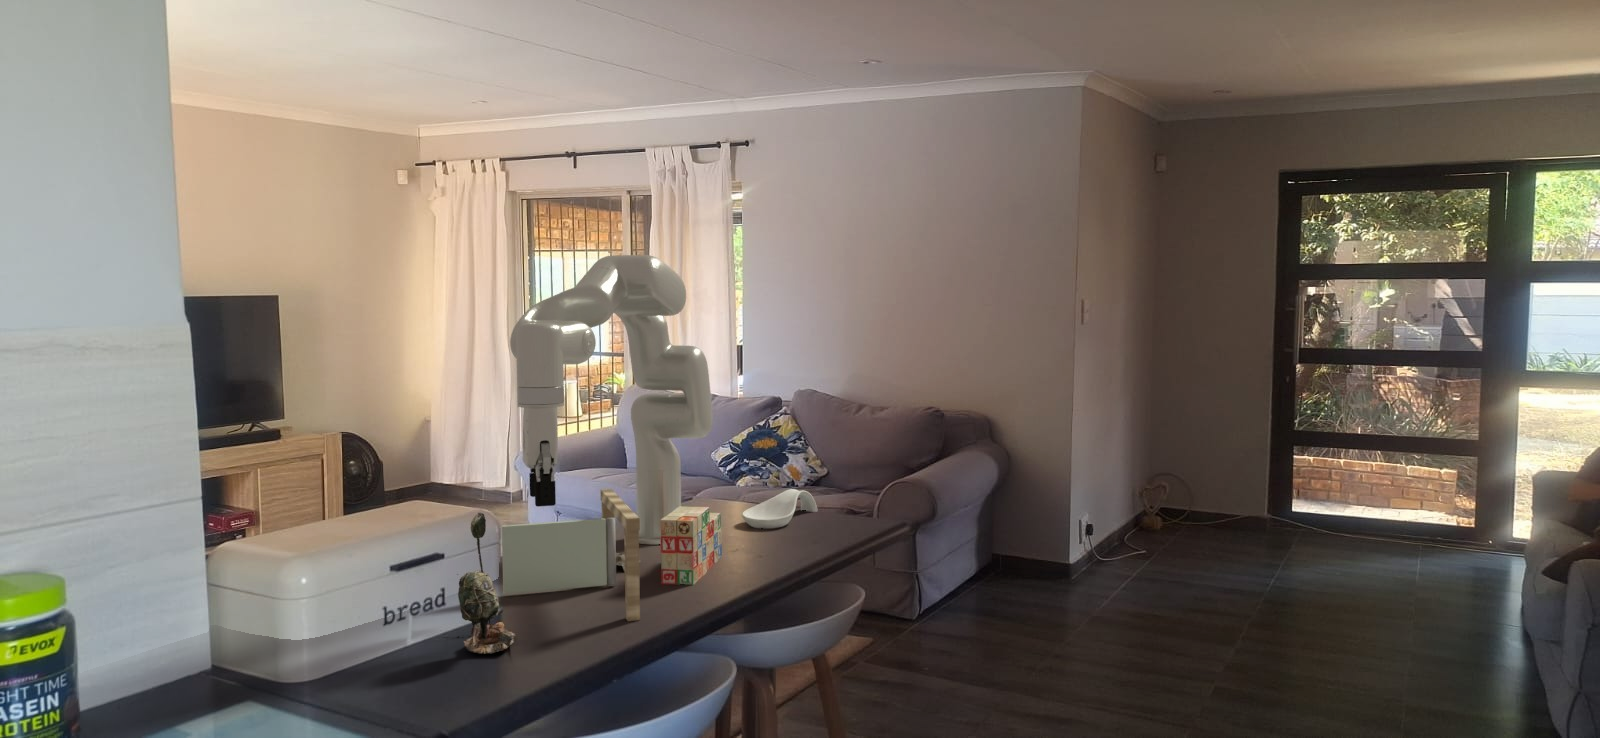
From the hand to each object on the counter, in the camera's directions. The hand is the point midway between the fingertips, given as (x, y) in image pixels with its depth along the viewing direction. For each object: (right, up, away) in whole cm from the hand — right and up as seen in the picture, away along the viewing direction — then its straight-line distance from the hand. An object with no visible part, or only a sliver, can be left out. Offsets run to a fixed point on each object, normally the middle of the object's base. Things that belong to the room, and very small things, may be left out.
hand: (542, 500), depth 181 cm
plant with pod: (-4, -20, -17) cm, 27 cm away
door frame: (+12, -18, +8) cm, 23 cm away
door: (0, -17, +14) cm, 22 cm away
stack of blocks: (+22, -17, +28) cm, 40 cm away
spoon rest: (+39, -14, +71) cm, 82 cm away
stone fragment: (-2, -16, +29) cm, 33 cm away
